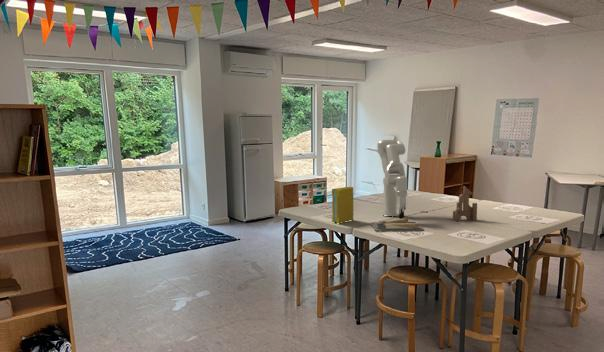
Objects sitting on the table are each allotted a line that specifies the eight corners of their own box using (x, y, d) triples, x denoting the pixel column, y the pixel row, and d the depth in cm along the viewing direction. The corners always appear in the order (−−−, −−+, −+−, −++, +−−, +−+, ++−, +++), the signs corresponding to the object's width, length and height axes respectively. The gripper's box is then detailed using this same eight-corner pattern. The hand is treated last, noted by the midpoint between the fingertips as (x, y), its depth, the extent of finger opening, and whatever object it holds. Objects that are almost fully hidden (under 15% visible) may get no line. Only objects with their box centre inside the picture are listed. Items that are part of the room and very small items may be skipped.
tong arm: (374, 227, 276) (374, 222, 276) (405, 222, 289) (405, 217, 288) (379, 229, 271) (379, 223, 271) (410, 223, 284) (410, 218, 283)
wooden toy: (456, 221, 293) (456, 187, 290) (452, 219, 300) (453, 185, 297) (477, 221, 293) (478, 186, 290) (473, 219, 300) (474, 185, 297)
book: (338, 224, 292) (337, 189, 289) (332, 222, 297) (331, 188, 294) (355, 220, 302) (355, 187, 299) (349, 219, 307) (349, 186, 304)
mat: (370, 223, 291) (370, 222, 291) (414, 223, 291) (414, 221, 291) (375, 231, 269) (375, 230, 269) (423, 230, 269) (423, 229, 269)
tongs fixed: (376, 227, 276) (376, 222, 276) (416, 226, 276) (416, 221, 276) (378, 229, 271) (378, 224, 270) (419, 228, 271) (419, 223, 270)
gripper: (394, 192, 299) (394, 216, 301) (398, 195, 284) (398, 221, 286) (404, 192, 299) (404, 216, 301) (409, 195, 284) (409, 220, 286)
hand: (401, 218), depth 293 cm, fingers closed
